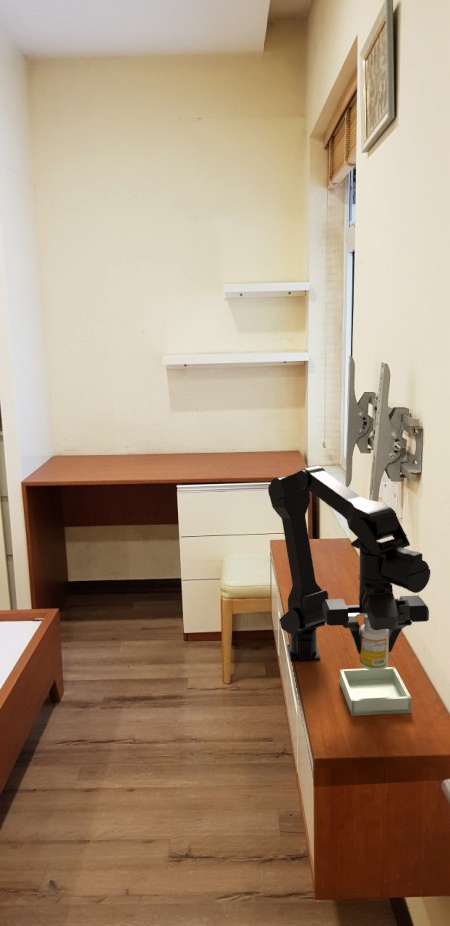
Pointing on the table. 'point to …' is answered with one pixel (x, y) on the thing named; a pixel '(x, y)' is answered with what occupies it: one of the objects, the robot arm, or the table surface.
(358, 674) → the tray
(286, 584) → the table surface
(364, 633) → the supplement bottle
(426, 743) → the table surface
